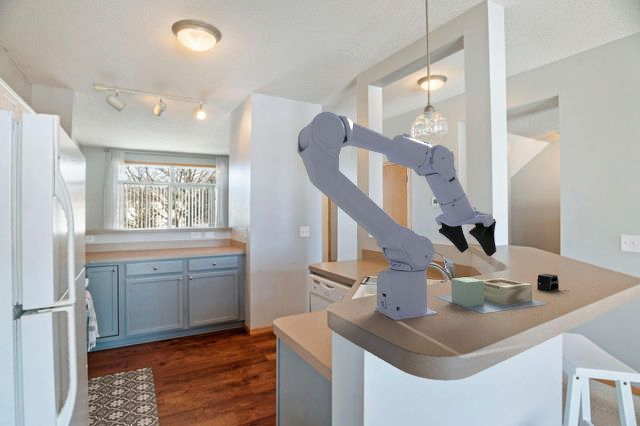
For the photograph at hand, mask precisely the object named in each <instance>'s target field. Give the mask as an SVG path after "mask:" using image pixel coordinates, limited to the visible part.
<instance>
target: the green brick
mask: <svg viewBox="0 0 640 426" xmlns="http://www.w3.org/2000/svg"><path fill="white" fill-rule="evenodd" d="M482 280H483V279H477V278H473V277H466V276H465V277H456V278H455V277H454V278H451V279H450V283H451V288H450V289H451V295H452V302H455V303H458V304H461V305H464V306H467V307H468V306H476V305H483V304H484V281H482Z"/></svg>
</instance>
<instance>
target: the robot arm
mask: <svg viewBox="0 0 640 426" xmlns="http://www.w3.org/2000/svg"><path fill="white" fill-rule="evenodd" d="M410 136H411V135H410V134H408V133H403V134H398V135H395V136H393V137H389V136H387V135H385V134H382V133H381V132H377V131H375V130H373V129H370V128H369V127H366V126H363V125H360V124H359V123H356V122H353V121H352V120H351V119H349V118H348V117H347V116H344V115H337V114H336V113H335V112H331V111H322V112H319V113H317V114H316V115H315V116H314V117H313V119H312V120H311V121H310V122H309V123H308V124H307V125H306V126H304V127H303V128H302V129H301V130H300V131H299V133H298V137H297V149H296V151H297V154H298V155H299V157H300V158H301V161H302V162H303V165H304V168H305V171H306V173H307V176H308V178H309V181H310V182H311V184H312V185H313V186H314V187H315V188H316V189H317V190H319V191H320V192H321V193H322V194H323V195H324V196H325V197H327V198H328V199H329V200H330V201H331V202H332V203H334V205H336V206H337V207H338V208H339V209H340V210H341V211H343V212H344V213H345V214H347V216H348V217H349V218H351V219H352V220H353V221H354V222H356V224H358V225H359V226H360V227H361V228H362V229H364V231H366V232H367V233H368V234H369V235H371V237H373V238H374V239H375V240H376V242H375V243H376V246H377V247H379V248H380V250H381V251H382V254H383V256H384V257H385V260H387V262H388V267H389V268H388V269H384V270H381V271H379V272H378V275H377V277H376V307H374V308H375V310H376V311H377V312H378V313H381V314H383V315H385V316H387V317H389V319H392V320H394V321H399V320H404V319H405V320H406V319H411V318H418V317H419V318H420V317H427V316H432V315H433V316H435V315H437V314H438V312H437V311H435V310H432V309H430V308H428V287H427V285H428V284H427V282H428V281H427V275H428V274H427V270H429V266H430V265H431V264H432V262H433V259H434V258H435V246H434V244H433V242H432V240H430V239H429V238H428V237H427V236H424V235H420V234H418V233H416V232H415V231H414V230H413V229H410V228H409V227H407V226H404V225H402V224H400V223H398V222H397V221H396V220H394V218H393V217H391V216H390V215H389V214H388V213H387V212H386V211H385V210H384V209H383V208H382V207H380V206H379V205H378V204H377V203H376V202H375V201H374V200H373V199H371V197H370V196H369V195H367V194H366V193H365V192H364V191H363V190H362V189H360V187H358V186H357V185H356V184H355V182H353V181H352V180H351V179H349V177H347V175H345V174H344V173H343V172H342V171H341V170H340V153H341V150H342V148H345V147H349V146H350V147H351V146H352V147H355V148H359V149H362V150H366V151H371V152H374V153H378V154H382V155H384V156H385V157H386V159H387V162H389V163H391V164H394V165H398V166H401V167H405V168H408V169H411V170H413V171H414V173H415V174H417V176H419V177H424V179H425V180H426V182H427V184H428V186H429V188H430V190H431V192H432V194H433V196H434V198H435V200H436V202H437V204H438V206H439V208H440V210H441V212H442V213H441V214H439V215H437V216H436V217H435V218H434V219H435V221H436V224H437V225H438V226H441V227H440V228H439V229H438V232H439V234H440V235H442V236H444V237H445V238H446V239H448V241H449V242H451V243H452V244H453V246H454V247H455V248H456V249H457V250H458V251H459V252H460V253H464V252H466V251H467V250H468V249H469V244H468V241H467V239H466V236H465V234H464V229H463V226H464V225H472V226H473V225H474V227H473V228H471V229H470V230H468V234H469V235H470V236H471V237H473V238H474V239H475V240H476V241H477V242H478V244H479V245H480V246H481V249H482V250H483V252H484V253H485V254H486V256H487V257H491V256H493V255H494V254H495V253H497V246H496V240H495V238H496V237H495V232H496V231H495V230H496V223H497V221H496V219H495V218H494V217H493V214H492V213H490V212H482V211H480V210H477V208H476V206H472V204H471V203H470V200H469V199H468V196H467V194H466V192H465V191H464V189H463V186H462V184H461V182H460V180H459V178H458V176H457V169H456V167H455V155H454V152H453V151H450V149H449V148H448V147H446V146H445V145H442V144H436V145H431V144H430V143H429V142H428V141H421V140H420V141H419V140H417V139H414V138H411V137H410Z"/></svg>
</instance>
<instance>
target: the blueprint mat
mask: <svg viewBox="0 0 640 426" xmlns="http://www.w3.org/2000/svg"><path fill="white" fill-rule="evenodd" d="M435 298H437V299H439V300H442V301H445V302H448V303H451V304H454V305H456V306H460V307H463V308H465V309H469V310H471V311H474V312H477V313H480V314H491V313H496V312H504V311H512V310H517V309H525V308H531V307H532V308H533V307H539V306H544V305H545V306H546V305H549V303H547V302H543V301H539V300H537V299H536V300H535V299H532V301H527V302H520V303H513V304H506V305H504V304H501V303H497V302H494V301H490V300H487V299H484V304H483V305H476V306H468V307H467V306H464V305H461V304H458V303H455V302H452V294H447V295H438V296H435Z"/></svg>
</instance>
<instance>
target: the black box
mask: <svg viewBox="0 0 640 426" xmlns="http://www.w3.org/2000/svg"><path fill="white" fill-rule="evenodd" d="M536 282H537V288H536V289H537V290H539V291H544V292H545V291H546V292H554V291H555V292H556V291H558V290H559V291H564V292H568V291H567V289H561V288H559V287H560V285H559V283H560V282H559V275H558V274H551V273H542V274H537V280H536Z"/></svg>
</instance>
